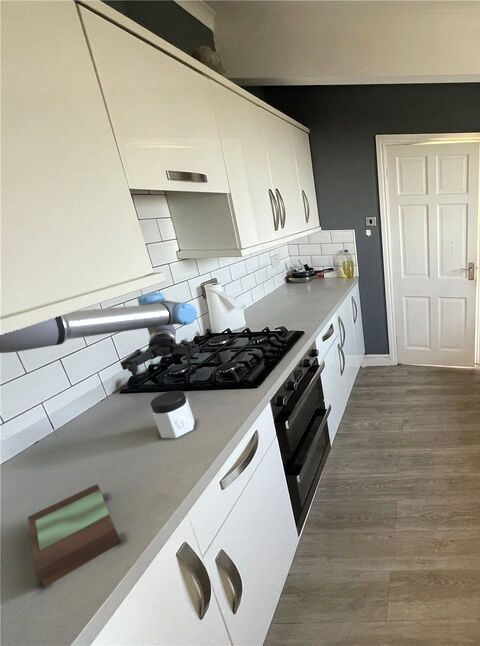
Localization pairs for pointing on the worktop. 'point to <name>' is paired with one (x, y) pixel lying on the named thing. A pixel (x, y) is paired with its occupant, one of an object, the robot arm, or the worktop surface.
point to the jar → (172, 414)
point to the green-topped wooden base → (71, 534)
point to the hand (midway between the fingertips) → (161, 365)
